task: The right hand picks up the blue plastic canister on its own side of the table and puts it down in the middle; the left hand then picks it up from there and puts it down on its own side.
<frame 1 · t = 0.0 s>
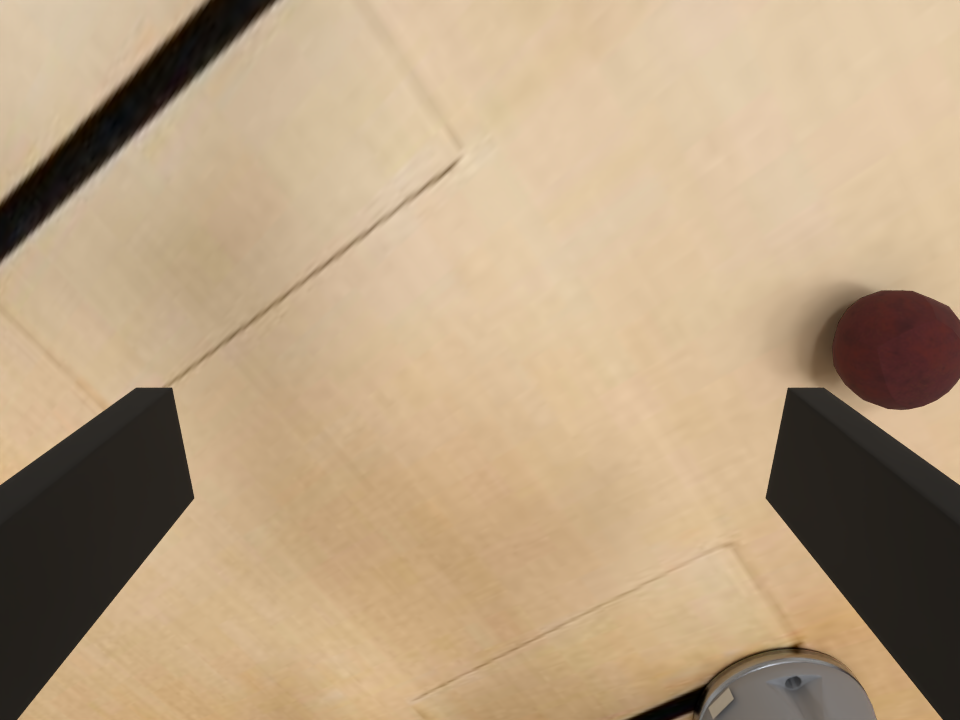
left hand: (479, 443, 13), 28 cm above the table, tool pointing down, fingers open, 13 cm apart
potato: (861, 330, 41), on the table
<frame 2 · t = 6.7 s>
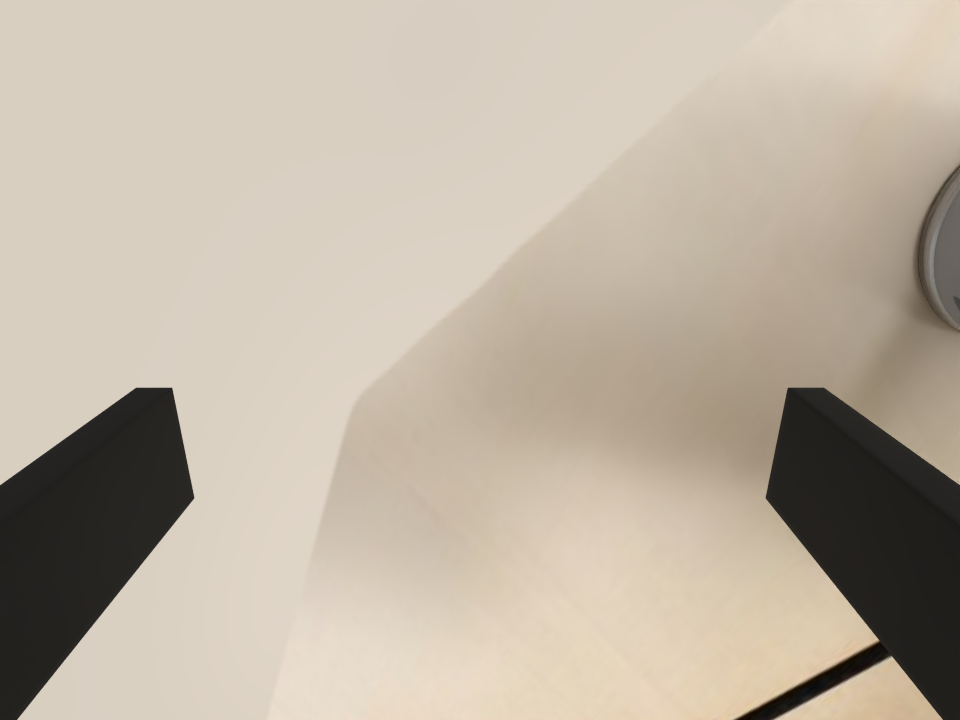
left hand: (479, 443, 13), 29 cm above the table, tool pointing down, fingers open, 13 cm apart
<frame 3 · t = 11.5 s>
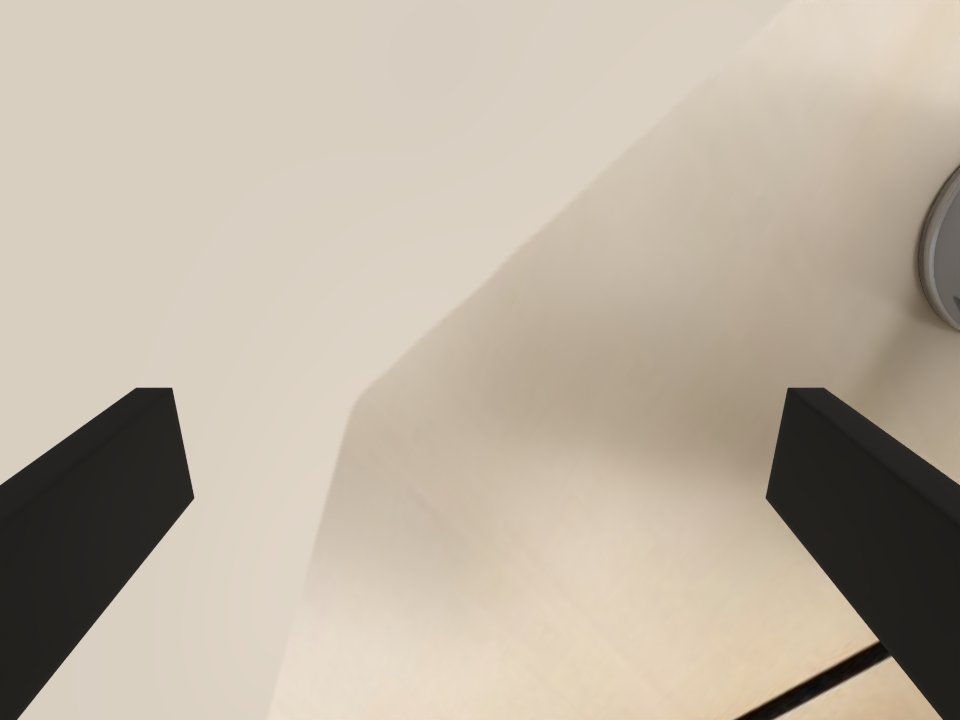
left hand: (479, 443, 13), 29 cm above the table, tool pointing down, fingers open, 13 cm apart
when the right hand's fingers open (3 cm above the table, at t = 16.3 s): canister stays where it is, on the table.
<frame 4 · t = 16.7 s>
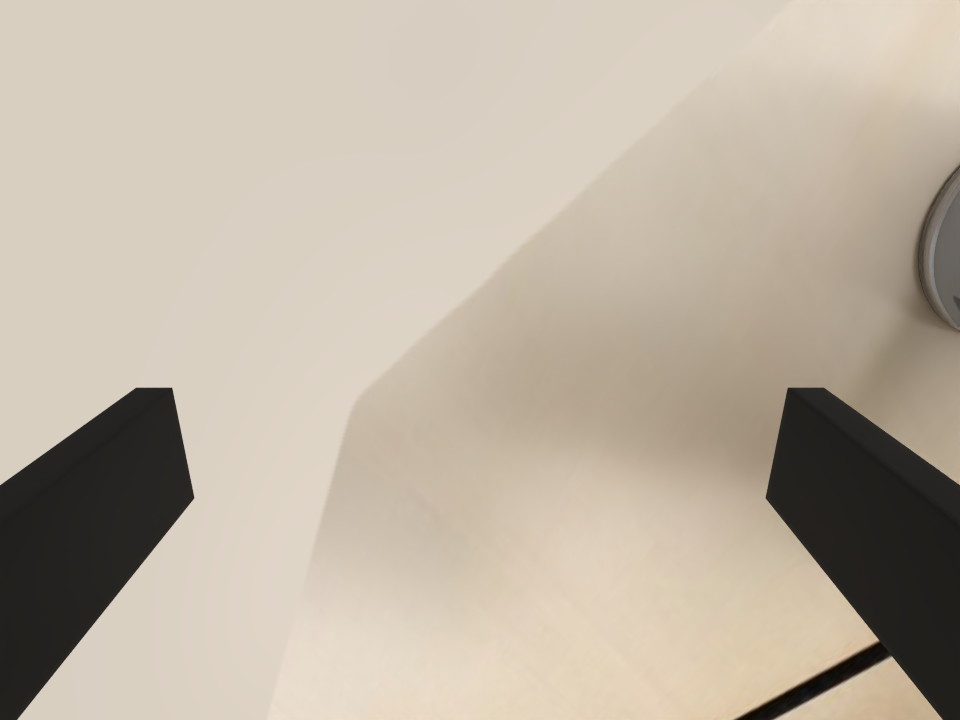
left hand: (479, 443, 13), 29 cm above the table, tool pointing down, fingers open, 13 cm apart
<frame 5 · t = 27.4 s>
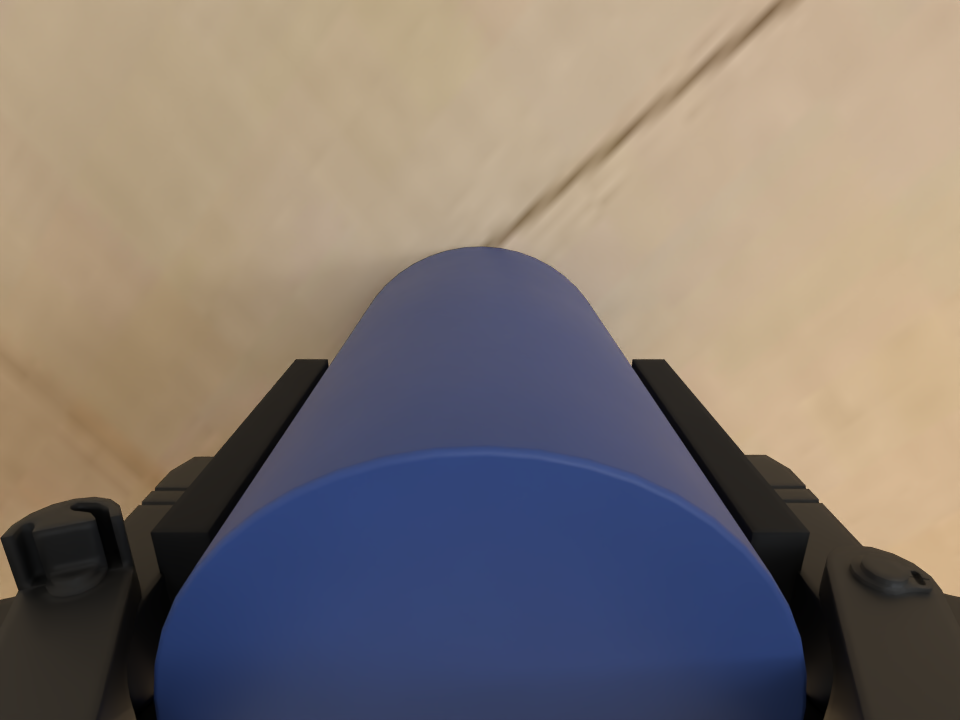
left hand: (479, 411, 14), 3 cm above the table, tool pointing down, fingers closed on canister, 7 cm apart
canister: (480, 373, 17), on the table, touching left hand
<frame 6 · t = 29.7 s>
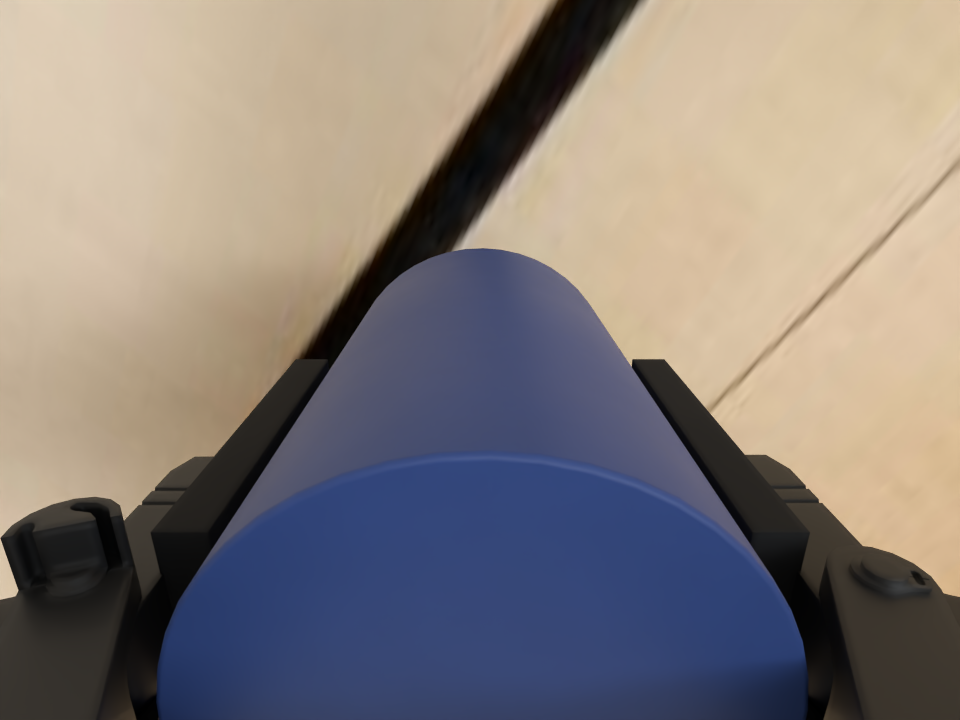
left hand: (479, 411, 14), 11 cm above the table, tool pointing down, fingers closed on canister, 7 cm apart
canister: (480, 375, 17), point 8 cm above the table, touching left hand
when the left hand's fingers open (3 cm above the table, at t = 32.4 s): canister stays where it is, on the table.
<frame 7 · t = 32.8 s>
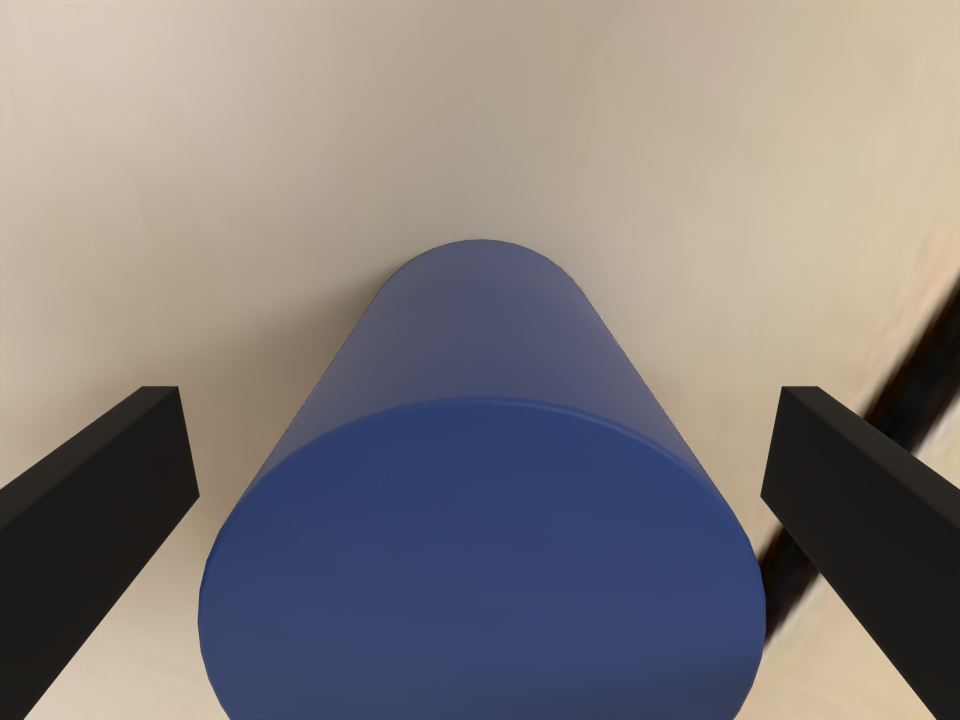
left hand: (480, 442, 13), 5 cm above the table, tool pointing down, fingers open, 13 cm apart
canister: (480, 360, 18), on the table
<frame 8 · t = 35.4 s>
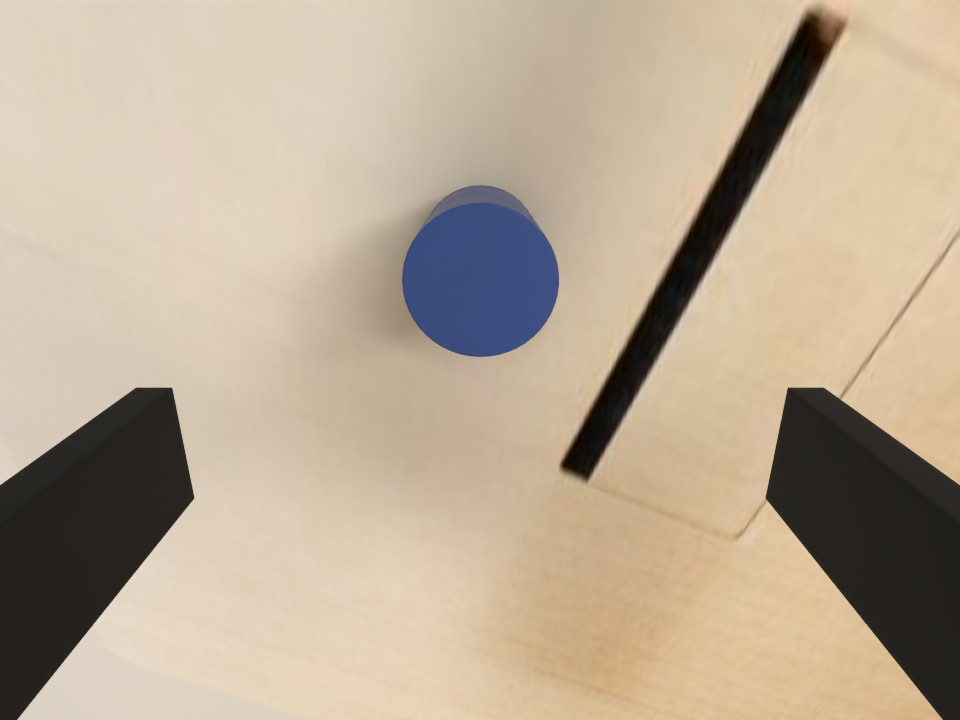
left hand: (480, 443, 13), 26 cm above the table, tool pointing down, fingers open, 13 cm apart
canister: (480, 244, 37), on the table
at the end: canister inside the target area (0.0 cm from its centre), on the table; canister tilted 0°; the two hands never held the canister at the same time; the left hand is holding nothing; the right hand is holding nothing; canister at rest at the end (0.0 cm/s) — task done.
